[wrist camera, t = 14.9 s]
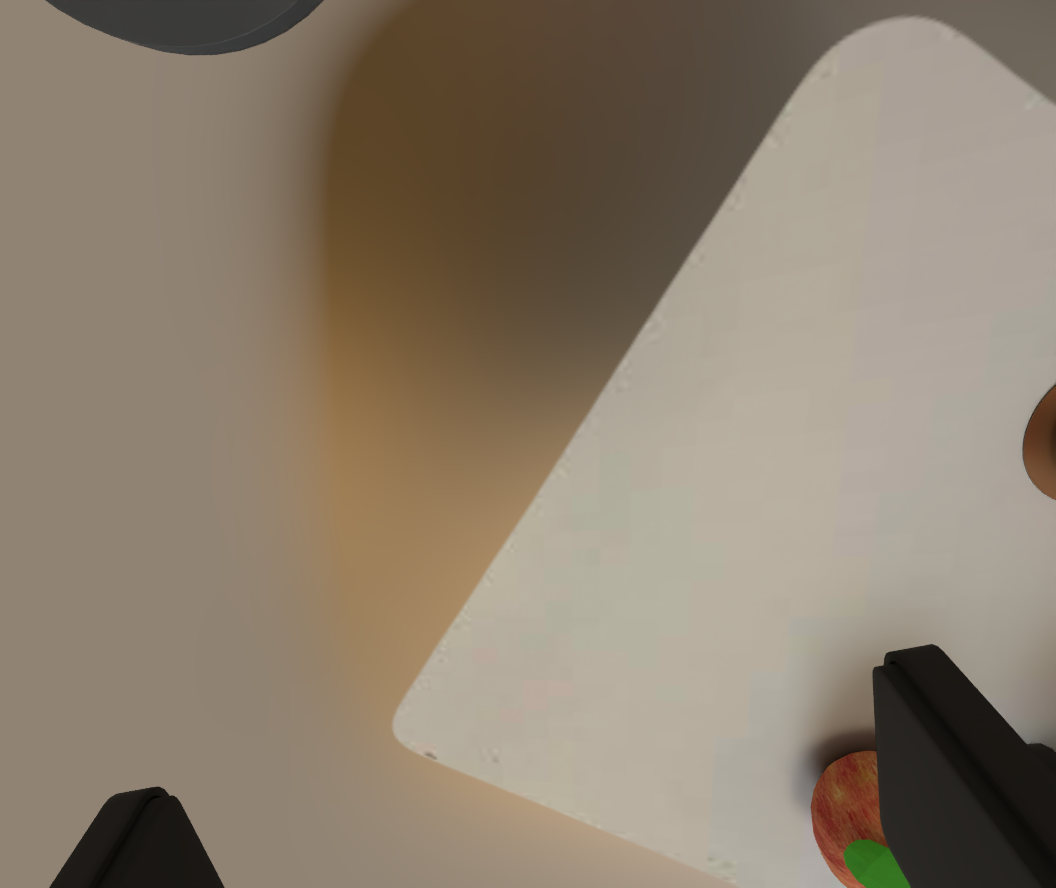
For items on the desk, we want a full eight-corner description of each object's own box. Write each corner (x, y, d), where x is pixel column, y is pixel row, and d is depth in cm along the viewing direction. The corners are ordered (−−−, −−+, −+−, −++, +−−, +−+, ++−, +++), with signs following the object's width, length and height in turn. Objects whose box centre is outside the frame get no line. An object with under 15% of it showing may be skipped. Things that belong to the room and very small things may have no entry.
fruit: (871, 699, 47) (960, 831, 37) (946, 781, 49) (1046, 923, 40) (764, 769, 49) (823, 910, 39) (841, 844, 51) (914, 993, 42)
